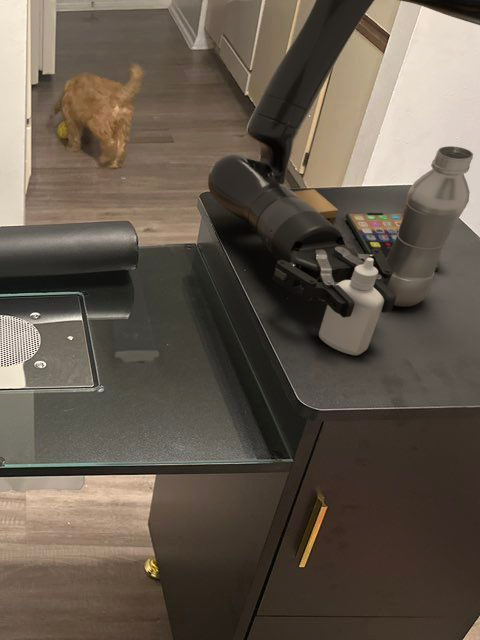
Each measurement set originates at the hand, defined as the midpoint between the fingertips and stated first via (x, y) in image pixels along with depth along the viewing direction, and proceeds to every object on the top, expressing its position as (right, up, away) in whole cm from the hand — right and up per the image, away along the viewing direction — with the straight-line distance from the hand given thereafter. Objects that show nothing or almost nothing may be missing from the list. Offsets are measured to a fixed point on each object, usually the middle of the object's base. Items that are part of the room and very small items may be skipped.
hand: (370, 307), depth 83 cm
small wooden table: (+4, +15, +28) cm, 31 cm away
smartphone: (+16, +12, +24) cm, 31 cm away
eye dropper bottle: (0, -4, +7) cm, 8 cm away
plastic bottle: (+11, +2, +13) cm, 17 cm away
